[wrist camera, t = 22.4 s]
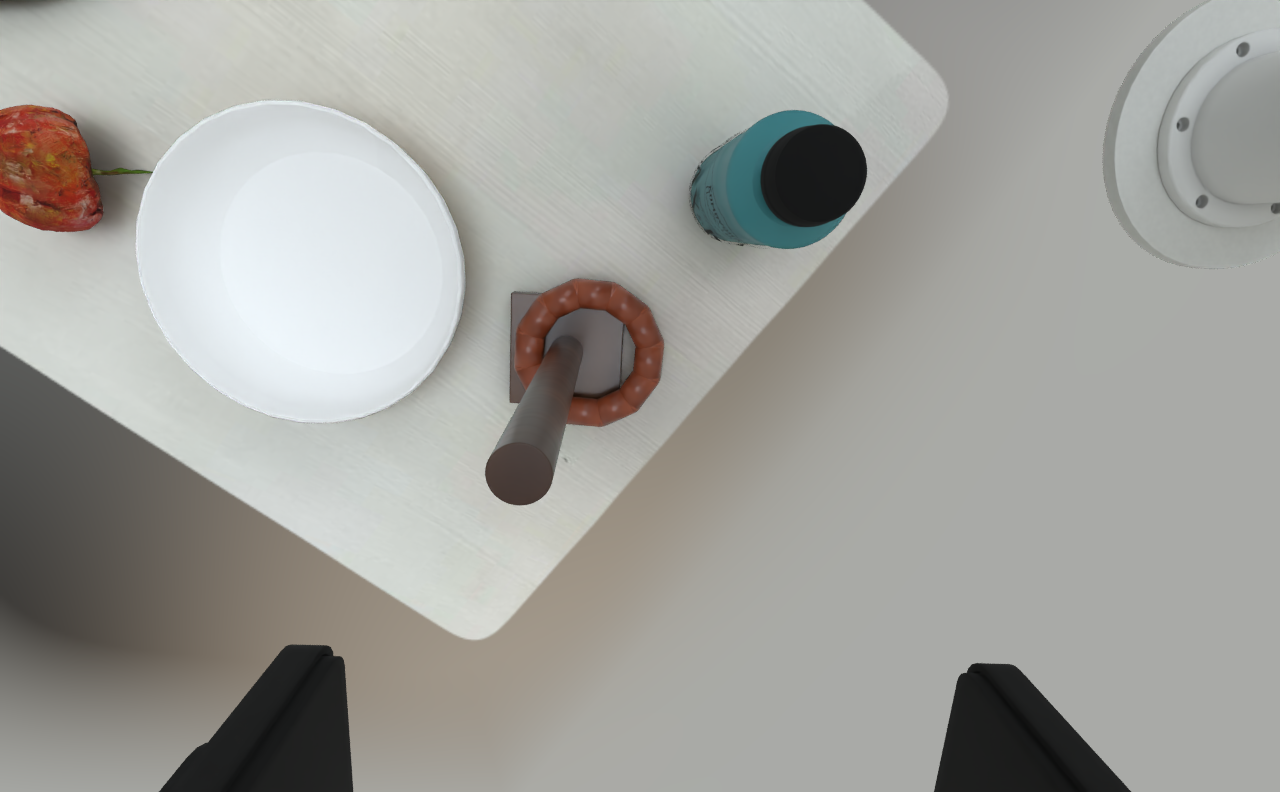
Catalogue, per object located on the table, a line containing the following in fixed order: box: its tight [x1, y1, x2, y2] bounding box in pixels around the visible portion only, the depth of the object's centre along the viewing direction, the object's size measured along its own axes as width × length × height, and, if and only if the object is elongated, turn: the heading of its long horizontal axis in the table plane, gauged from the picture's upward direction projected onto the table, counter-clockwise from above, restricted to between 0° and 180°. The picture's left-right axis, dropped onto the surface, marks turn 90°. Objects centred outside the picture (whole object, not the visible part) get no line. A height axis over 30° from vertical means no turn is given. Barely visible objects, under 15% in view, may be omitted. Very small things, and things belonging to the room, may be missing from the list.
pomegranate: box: [0, 105, 153, 232], centre depth 40 cm, size 7×7×10 cm
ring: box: [514, 279, 664, 427], centre depth 45 cm, size 10×10×2 cm
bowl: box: [136, 100, 466, 423], centre depth 42 cm, size 20×20×6 cm
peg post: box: [485, 291, 624, 505], centre depth 35 cm, size 8×8×25 cm
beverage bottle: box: [689, 110, 867, 249], centre depth 35 cm, size 6×7×20 cm
